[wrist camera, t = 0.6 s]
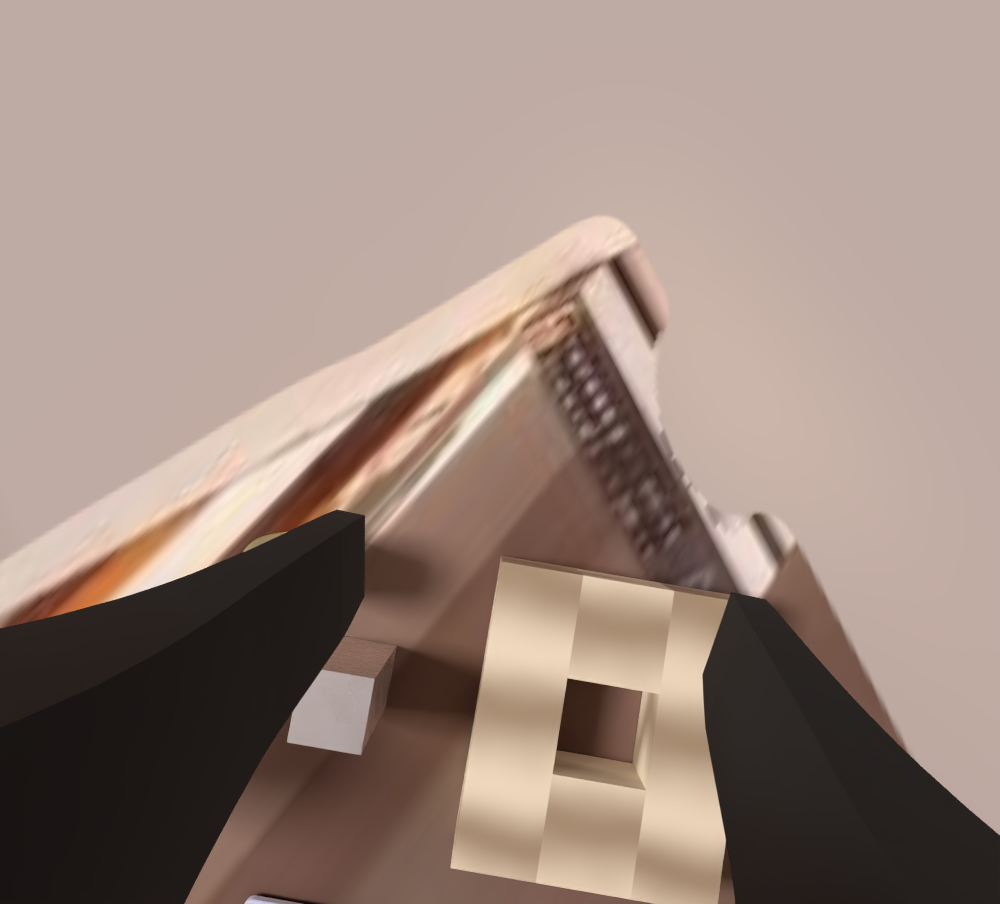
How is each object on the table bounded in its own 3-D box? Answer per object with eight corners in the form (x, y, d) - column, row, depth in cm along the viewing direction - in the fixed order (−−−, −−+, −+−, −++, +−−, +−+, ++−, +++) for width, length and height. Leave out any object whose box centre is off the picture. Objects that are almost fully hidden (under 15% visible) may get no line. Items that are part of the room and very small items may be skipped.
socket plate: (695, 875, 32) (716, 914, 29) (454, 833, 32) (450, 867, 29) (733, 595, 33) (756, 604, 30) (501, 555, 33) (501, 561, 30)
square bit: (385, 707, 33) (360, 755, 27) (325, 696, 33) (286, 742, 27) (396, 645, 33) (374, 678, 27) (336, 634, 33) (301, 666, 27)
